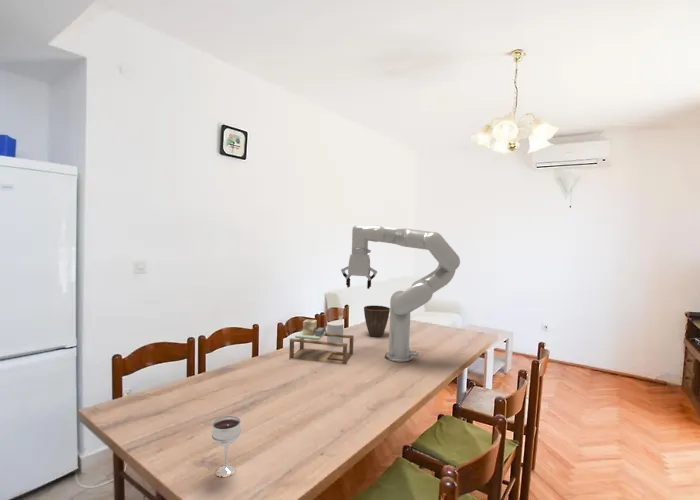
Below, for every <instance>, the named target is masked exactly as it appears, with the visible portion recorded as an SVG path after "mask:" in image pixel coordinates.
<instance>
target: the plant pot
mask: <svg viewBox="0 0 700 500" xmlns="http://www.w3.org/2000/svg"><path fill="white" fill-rule="evenodd" d="M363 313H364V321H365V323H366V324H365V325H366V329H367V332H368V335H369V336H370V337H373V338H382V337H383V335H384V334H385V333H384V332H385V331H386V328H387V324H388V321H389V318H390V306H389V307H388V306H384V305H374V304H373V305H365V306H364V307H363Z"/></svg>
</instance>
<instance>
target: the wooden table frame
mask: <svg viewBox="0 0 700 500" xmlns="http://www.w3.org/2000/svg"><path fill="white" fill-rule="evenodd" d="M301 331H302V330H300V331H299V333H300V332H301ZM327 336H331V337H342V338H343V339H349V349H348V343H345V342H343V343H335V342H327V341H323V340H309V339H299V338H295V337H294V338H293V337H292V338H290V339H289V352H288V353H289V355H288V357H289V361H290V360H291V359H294V360H295V359H296V360H305V361H315V362H324V363H333V364H343V365H347V363H348V362H349V360H350V359H351V357H352V356H353V354H354V338H355V337H354V335H351V334H343V335H342V334H331V333H327V332H326V334H325V335H324V336H323V337H327ZM295 343H299V349H298V350H297V351H296V352H295ZM305 343H306V344H312V345H313V344H314V345H322V346H323V345H324V346H329V345H332V346H331V347H342V351H333V350H323V349H313V348H305V346H304V345H305ZM348 350H349V351H348Z"/></svg>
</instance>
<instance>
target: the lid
mask: <svg viewBox="0 0 700 500" xmlns="http://www.w3.org/2000/svg"><path fill="white" fill-rule="evenodd" d="M300 331H301V332H300ZM300 331H299V333H297V334H296V335H295V337H294V339H304V340H315V341H321V339H322V338H323V337H325V336H324V335H325V334H326V333H327V331H325V327H317V330H316V332H315V335H313V336H311V335H303V330H300Z"/></svg>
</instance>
